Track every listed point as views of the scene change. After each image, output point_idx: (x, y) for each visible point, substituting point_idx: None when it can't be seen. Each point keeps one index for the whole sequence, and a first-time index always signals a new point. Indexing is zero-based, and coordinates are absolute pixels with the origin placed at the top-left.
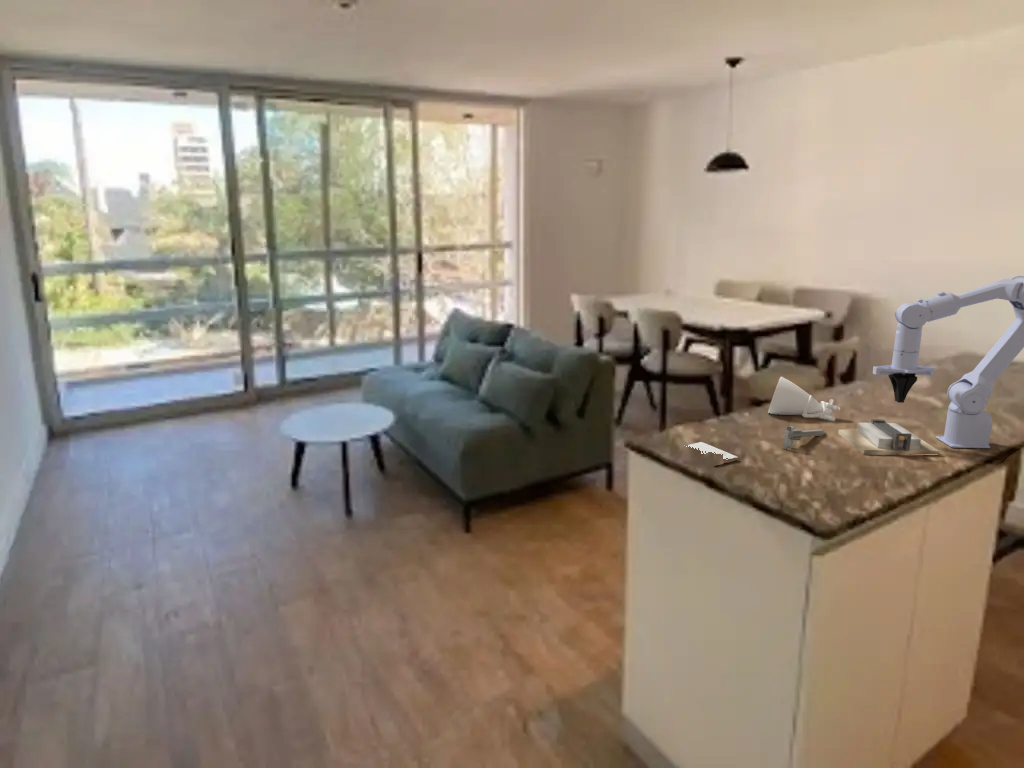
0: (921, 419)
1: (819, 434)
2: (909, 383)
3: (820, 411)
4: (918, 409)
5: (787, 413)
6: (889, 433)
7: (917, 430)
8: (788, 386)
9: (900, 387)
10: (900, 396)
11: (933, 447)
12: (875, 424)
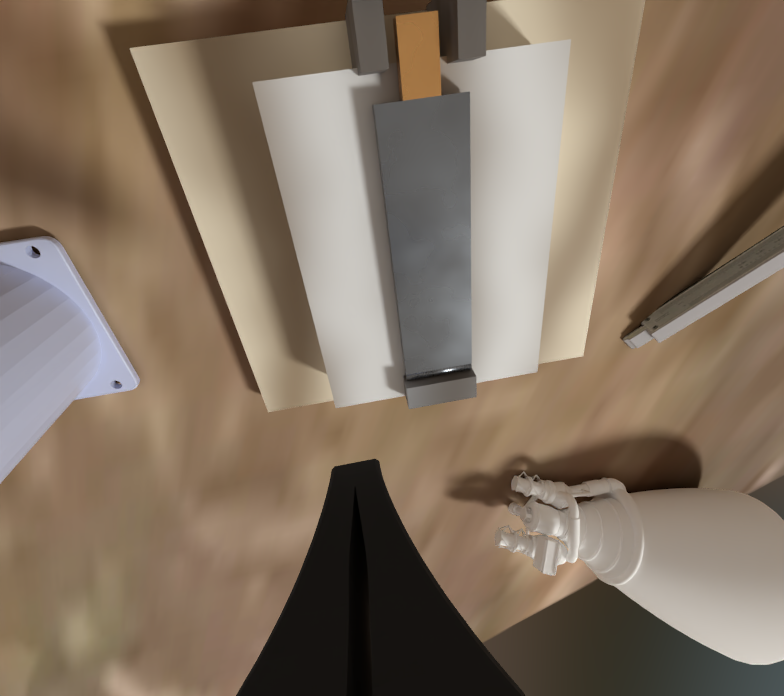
0: (184, 564)
1: (678, 299)
2: (308, 686)
3: (568, 511)
4: (184, 634)
5: (664, 489)
6: (468, 144)
7: (216, 457)
8: (761, 600)
9: (414, 595)
10: (377, 501)
11: (165, 137)
12: (469, 342)
